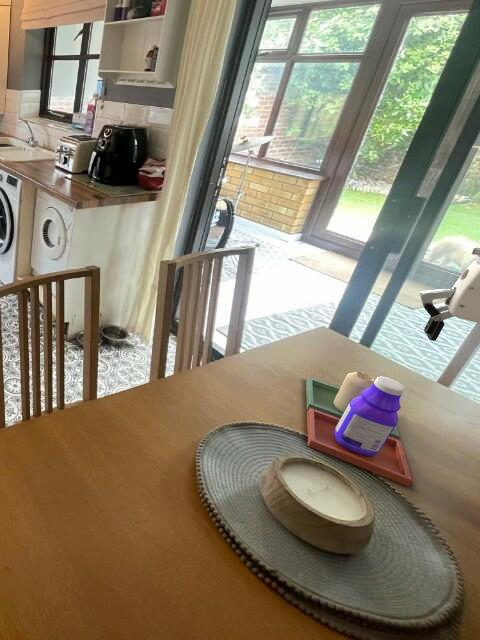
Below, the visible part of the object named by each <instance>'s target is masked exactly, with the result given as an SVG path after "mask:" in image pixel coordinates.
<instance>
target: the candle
mask: <svg viewBox="0 0 480 640" xmlns="http://www.w3.org/2000/svg"><path fill="white" fill-rule="evenodd" d="M375 380H376V379H374V377H373V376H372V375H371V374H369V373H363V372H361V371H354V372H350V373H347V374H346V376H345V378H344V380H343V382H342V384H341V385H340V390H339V392H338V394H337V396H336V398H335V400H334V402H333V404H334V406H335V407H336V408H337V409H338V410H339V411H340V412H342V413H344V412H345V410H346V408H347V407H348V405H349V403H350V402H351V401H352V400H353V399H354V398H356V397H358V396H361V395H362V391H363V390H365V389H368V388H370V387H371V386H372V385H373V383H374V381H375Z"/></svg>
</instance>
